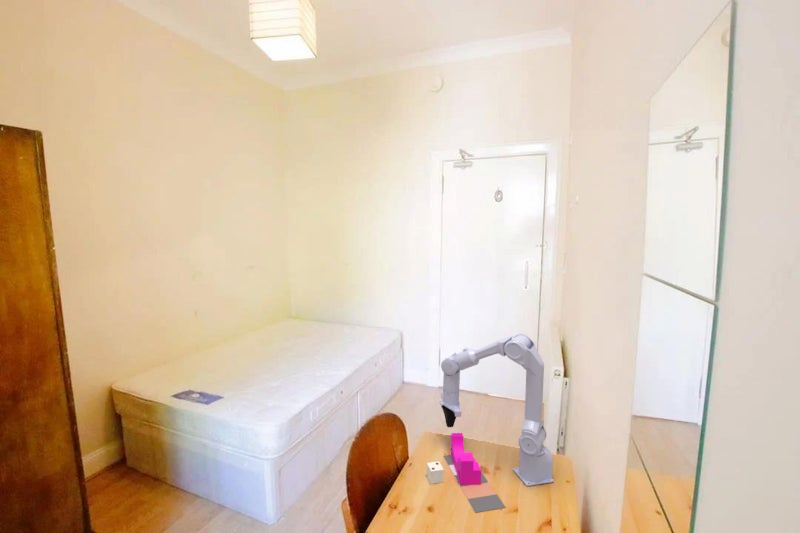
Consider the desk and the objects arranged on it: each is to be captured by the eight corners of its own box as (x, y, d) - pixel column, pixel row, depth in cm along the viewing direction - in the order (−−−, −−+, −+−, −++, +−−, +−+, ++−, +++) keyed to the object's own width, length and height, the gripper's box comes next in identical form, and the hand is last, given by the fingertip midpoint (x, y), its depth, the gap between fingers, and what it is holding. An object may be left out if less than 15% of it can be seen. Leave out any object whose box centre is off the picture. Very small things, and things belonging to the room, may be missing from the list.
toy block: (480, 484, 104) (481, 460, 103) (460, 484, 103) (461, 461, 103) (468, 453, 119) (469, 433, 118) (450, 454, 118) (451, 433, 118)
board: (467, 454, 119) (467, 452, 119) (505, 509, 95) (505, 507, 95) (443, 457, 117) (443, 455, 117) (475, 514, 93) (475, 512, 93)
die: (438, 473, 108) (439, 461, 108) (443, 482, 105) (443, 469, 104) (426, 475, 108) (427, 462, 107) (430, 483, 104) (431, 471, 103)
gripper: (433, 382, 129) (432, 417, 130) (447, 399, 115) (446, 438, 116) (451, 380, 130) (450, 415, 131) (467, 398, 116) (466, 436, 117)
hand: (449, 426), depth 124 cm, fingers closed
